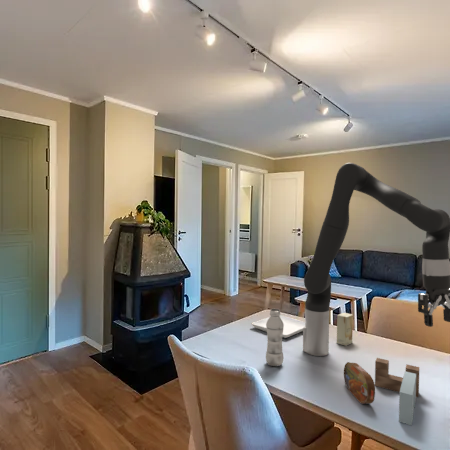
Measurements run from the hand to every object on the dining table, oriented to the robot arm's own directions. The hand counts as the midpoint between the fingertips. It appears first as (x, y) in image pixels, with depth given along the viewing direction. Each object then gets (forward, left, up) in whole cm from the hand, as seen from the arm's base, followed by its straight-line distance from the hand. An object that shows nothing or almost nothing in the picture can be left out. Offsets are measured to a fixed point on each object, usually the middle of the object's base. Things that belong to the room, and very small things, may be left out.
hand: (438, 323), depth 105 cm
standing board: (-11, -9, -20) cm, 25 cm away
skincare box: (-34, +21, -21) cm, 45 cm away
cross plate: (-7, -20, -21) cm, 29 cm away
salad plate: (-63, +21, -21) cm, 69 cm away
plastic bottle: (-50, -15, -21) cm, 56 cm away
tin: (-20, -19, -21) cm, 34 cm away
